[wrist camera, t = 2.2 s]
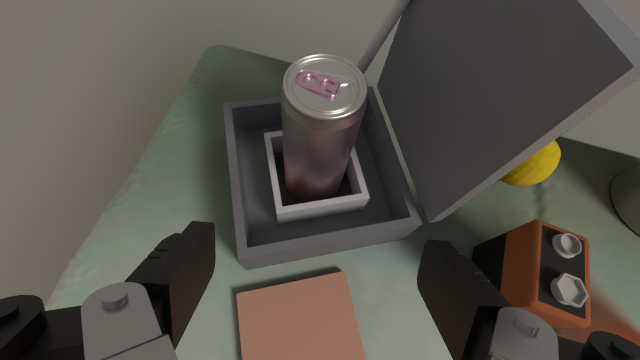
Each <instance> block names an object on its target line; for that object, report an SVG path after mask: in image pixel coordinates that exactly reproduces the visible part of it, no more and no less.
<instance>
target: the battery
mask: <svg viewBox="0 0 640 360" xmlns="http://www.w3.org/2000/svg"><path fill="white" fill-rule="evenodd" d="M472 262H473V263H475V264H476V265H477V267H478V268H479V269H480V270H481V271H482V272H483V275H485V276H486V277H487V278H488V279H489V280H490V283H492V284H493V285H494V286H495V287H496V288H497V290H498V291H499V292H500V293H501V294H502V295H503V296H504V298H505V299H506V300H507V301H508V302H509V303H510V305H511V306H512V307H516V308H520V309H523V310H526V311H528V312H531V313H533V314H534V315H536V316H538V317H540V318H541V319H543V320H544V321H545V322H546V323H548V324H549V325H550V326H551V327H552V328H586V327H588V326H589V325H590V279H589V243H588V240H587V239H586V238H584V237H582V236H580V235H577V234H574V233H572V232H569V231H566V230H564V229H561V228H558V227H556V226H553V225H550V224H548V223H545V222H542V221H539V220H534V221H531V222H529V223H527V224H524V225H522V226H520V227H518V228H515V229H513V230H511V231H508V232H506V233H504V234H502V235H499V236H497V237H495V238H493V239H490V240H488V241H486V242H483V243H481V244H479V245H477V246H475V247H474V251H473V257H472Z"/></svg>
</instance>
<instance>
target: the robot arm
mask: <svg viewBox="0 0 640 360" xmlns="http://www.w3.org/2000/svg"><path fill="white" fill-rule="evenodd" d="M610 193H611V199H612V202H613V205H614V207H615V209H616V211H617V213H618V214H619V216H620V217H621V218H622V220H623V221H624V222H625V223H626V224H627V225H628V226H629V227H630V228H631V229H632V230H633V231H634V232H636V233H637V234H638V235H640V165H639V166H637V167H635V168H633V169H631V170H629V171H627V172H625V173H622V174H620V175H618V176H617V177H616V178H615V179H614V180H613V182H612V184H611V190H610ZM214 268H215V225H214V223H212V222H199V221H192V222H191V223H190V224H189V225H188V226H187V227H186V229H185V230H184V231H183V232H182V233H181V234H179V233H174V234H173V235H171V236H169V237H167V238H165V239H164V240H162V241H161V242H160V243H159V244H158V245H157V246H156V248H155V249H154V251H152V252H151V253H150V254H149V255H148V257H147V258H145V260H144V261H143V262H142V263H141V264H140V265H139V266H138V267H137V268H136V269H135V270H134V272H133V273H132V274H131V275H130V276H129V277H128V278H127V279H126V280H125V281H124V282H122V283H116V284H112V285H109V286H106V287H103V288H101V289H99V290H97V291H96V292H94V293H92V294H91V295H90V296H89V297H87V299H86V300H85V301H84V302H83V304H82V305H81V306H76V307H69V308H63V309H56V310H50V311H45V309H44V305H43V302H42V300H41V299H40V298H39V297H37V296H33V295H18V296H12V297H8V298H4V299H0V360H178V358H177V356H176V353H175V349H176V347H177V345H178V343H179V341H180V339H181V337H182V335H183V333H184V331H185V329H186V327H187V325H188V323H189V321H190V319H191V317H192V315H193V313H194V311H195V309H196V307H197V305H198V303H199V301H200V299H201V297H202V295H203V293H204V291H205V289H206V287H207V285H208V283H209V281H210V279H211V277H212V275H213V272H214ZM417 285H418V289H419V292H420V294H421V296H422V298H423V300H424V302H425V304H426V306H427V308H428V310H429V312H430V314H431V316H432V318H433V320H434V322H435V324H436V326H437V328H438V330H439V332H440V334H441V336H442V338H443V340H444V342H445V344H446V346H447V348H448V350H449V352H450V354H451V356H452V358H453V360H640V347H639V346H637V345H636V344H634V343H632V342H630V341H628V340H626V339H624V338H622V337H620V336H617V335H614V334H612V333H608V332H603V331H594V332H592V333H591V334H590V335H589V337H588V339H587V341H586V343H585V344H582V343H579V342H575V341H572V340H568V339H565V338H561V337H558V336H557V335H556V333H555V331H554V330H553V329H552V327H551V326H550V325H549V324H548V323H546V322H545V321H544V320H543V319H541V318H540V317H538V316H536V315H534V314H533V313H531V312H528V311H526V310H523V309H520V308H516V307H512V306H511V305H510V303H509V302H508V301H507V300H506V299H505V298H504V296H503V295H502V294H501V293H500V292H499V291H498V290H497V288H496V287H495V286H494V285H493V284H492V283H490V280H489V279H488V278H487V277H486V276H485V275H483V272H482V271H481V270H480V269H479V268H478V267H477V265H476V264H475V263H473V262H472V261H470V260H469V259H467V258H466V257H465V256H463V255H460V254H459V253H458V251H457V250H456V249H455V248H454V247H453V245H452V244H451V243H450V242H449V241H441V240H427V241H426V243H425V245H424V249H423V253H422V258H421V262H420V266H419V270H418V275H417Z"/></svg>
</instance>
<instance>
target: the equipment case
mask: <svg viewBox="0 0 640 360" xmlns="http://www.w3.org/2000/svg"><path fill="white" fill-rule="evenodd" d="M401 14H402V16H401ZM400 16H401V19H400V22H399V25H398V28H397V30H396V33H395V36H394V39H393V42H392V45H391V48H390V50H389V54H388V56H387V59H386V62H385V65H384V68H383V70H382V74H381V76H380V79H379V82H378V85H377V87H378V90H379V92H380V95H381V98H382V100H383V103H384V106H385V108H386V111H387V114H388V116H389V119H390V122H391V124H392V127H393V130H394V132H395V135H396V138H397V140H398V143H399V146H400V148H401V151H402V154H403V156H404V159H405V162H406V164H407V167H408V170H409V172H410V175H411V178H412V180H413V183H414V186H415V188H416V191H417V194H418V196H419V199H420V202H421V204H422V207H423V210H424V212H425V215H426V218H427V220H428V223H431V222H436V221H441V220H443V219H444V218H445V217H447V216H448V215H450V214H451V213H452V212H454V211H455V210H457V209H458V208H459V207H461V206H462V205H464V204H465V203H466V202H468V201H469V200H471V199H472V198H473V197H475V196H476V195H478V194H479V193H480V192H482V191H483V190H485V189H486V188H487V187H489V186H490V185H492V184H493V183H494V182H496V181H497V180H499V179H500V178H501V177H503V176H504V175H506V174H507V173H508V172H510V171H511V170H513V169H514V168H516V167H517V166H518V165H520V164H521V163H523V162H524V161H525V160H527V159H528V158H530V157H531V156H532V155H534V154H535V153H537V152H538V151H539V150H541V149H542V148H544V147H545V146H546V145H548V144H549V143H551V142H552V141H553V140H555V139H556V138H558V137H559V136H560V135H562V134H563V133H565V132H566V131H567V130H569V129H570V128H572V127H573V126H574V125H576V124H577V123H579V122H580V121H581V120H583V119H584V118H586V117H587V116H589V115H590V114H591V113H593V112H594V111H595V110H597V109H598V108H600V107H601V106H602V105H604V104H605V103H607V102H608V101H610V100H611V99H612V98H614V97H615V96H617V95H618V94H619V93H621V92H622V91H624V90H625V89H626V88H628V87H629V86H631V85H632V84H633V83H635V82H636V81H638V80H639V79H640V39H639V38H638V37H637V36H636V35H635V34H634V33H633V32H632V31H631V30H630V29H629V28H628V26H627V25H626V24H625V23H624V22H623V21H622V20H621V19H620V18H619V17H618V16H617V15H616V14H615V12H614V11H613V10H612V9H611V8H610V7H609V6H608V5H607V4H606V3H605V1H604V0H396V1H395V3H394V4H393V6H392V8H391V9H390V11H389V13H388V14H387V16H386V18H385V20H384V21H383V23H382V24H381V26H380V28H379V30H378V31H377V33H376V35H375V36H374V38H373V40H372V41H371V43H370V45H369V46H368V48H367V50H366V51H365V53H364V55H363V56H362V58H361V60H360V61H359V63H358V65H357V67H358V68H359V69H360V70H361V71H362V73H363V74H364V73H365V71H366V70H367V68H368V66H369V65H370V63H371V62H372V60H373V59H374V57H375V55H376V54H377V52H378V51H379V49H380V47H381V46H382V44H383V43H384V41H385V40H386V38H387V37H388V35H389V33H390V32H391V30H392V29H393V27H394V26H395V24H396V22H397V21H398V19H399V18H400ZM223 111H224V122H225V132H226V143H227V153H228V163H229V174H230V184H231V195H232V205H233V215H234V226H235V236H236V247H237V257H238V261H239V262H240V263H241V264H242V265H243V267H244V268H245V269H246V270H249V269H254V268H260V267H265V266H270V265H275V264H280V263H285V262H290V261H295V260H300V259H305V258H310V257H315V256H320V255H325V254H330V253H335V252H340V251H345V250H350V249H355V248H360V247H365V246H370V245H375V244H380V243H385V242H390V241H395V240H401V239H404V238H405V237H407V236H408V235H409V234H411V233H412V232H413V231H414V230H416V229H417V228H418V227H419V226H421V225H422V222H421V219H420V216H419V214H418V211H417V208H416V206H415V203H414V200H413V197H412V195H411V192H410V189H409V186H408V184H407V181H406V178H405V175H404V173H403V170H402V167H401V164H400V162H399V159H398V156H397V154H396V151H395V148H394V145H393V143H392V140H391V137H390V134H389V132H388V129H387V126H386V123H385V121H384V118H383V115H382V112H381V110H380V107H379V104H378V102H377V99H376V96H375V93H374V91H373V88H372V86H371V87H368V92H367V106H366V109H365V112H364V115H363V118H362V121H361V124H360V127H359V130H358V133H357V136H356V139H355V142H354V145H353V148H352V151H351V154H350V157H349V160H348V163H347V166H346V169H345V176H346V179H347V183H348V186H349V190H350V194H351V195H349V196H343V197H337V198H331V199H325V200H319V201H313V202H307V203H301V204H295V205H289V206H283V207H282V202H281V196H280V190H279V184H278V178H277V172H276V166H275V160H274V157H277V156H284V152H283V133H282V115H281V96H279V97H270V98H261V99H252V100H243V101H233V102H224V103H223Z"/></svg>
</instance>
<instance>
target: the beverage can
mask: <svg viewBox="0 0 640 360" xmlns="http://www.w3.org/2000/svg"><path fill="white" fill-rule="evenodd" d="M367 92H368V86H367V81H366V79H365V76H364V74H363V73H362V71H361V70H360V69H359V68H358V67H357V66H356V65H355V64H353V63H352V62H351V61H349V60H347V59H345V58H343V57H340V56H337V55H333V54H326V53H318V54H311V55H307V56H304V57H302V58H300V59H298V60H296V61H295V62H294V63H292V64H291V65H290V67H289V68H288V69H287V71H286V73H285V75H284V78H283V85H282V88H281V94H280V96H281V115H282V133H283V152H284V170H285V184H286V187H287V190H288V191H289V193H290V194H291V195H292V196H293V197H294V198H295V199H296V200H298V201H299V202H302V203H307V202H313V201H319V200H325V199H331V198H333V197H334V196H335V195H336V193H337V192H338V190H339V187H340V184H341V181H342V178H343V175H344V172H345V169H346V166H347V163H348V160H349V157H350V154H351V151H352V148H353V145H354V142H355V139H356V136H357V133H358V130H359V127H360V124H361V121H362V118H363V115H364V112H365V109H366V106H367Z"/></svg>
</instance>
